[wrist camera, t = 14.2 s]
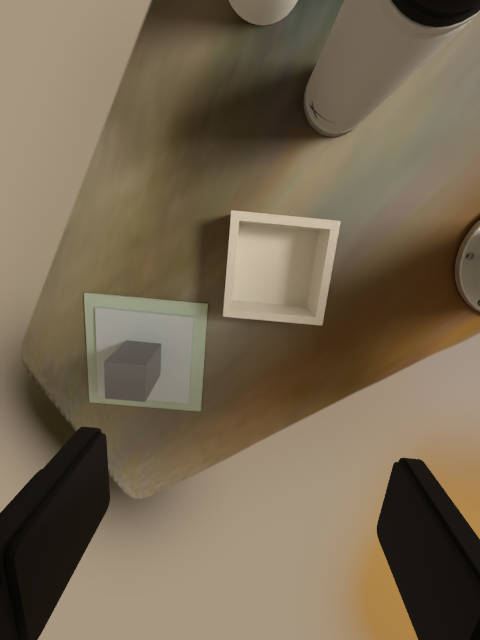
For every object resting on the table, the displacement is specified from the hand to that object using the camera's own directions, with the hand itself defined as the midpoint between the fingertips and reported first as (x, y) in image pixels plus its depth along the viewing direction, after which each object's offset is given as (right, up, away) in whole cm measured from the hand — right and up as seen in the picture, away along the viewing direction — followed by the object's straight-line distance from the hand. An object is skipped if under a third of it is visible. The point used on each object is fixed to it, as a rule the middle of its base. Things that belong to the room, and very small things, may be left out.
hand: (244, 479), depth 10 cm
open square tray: (+4, +11, +24) cm, 27 cm away
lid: (-11, +1, +26) cm, 29 cm away
